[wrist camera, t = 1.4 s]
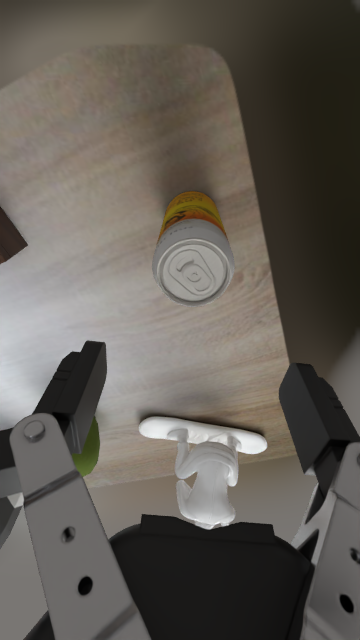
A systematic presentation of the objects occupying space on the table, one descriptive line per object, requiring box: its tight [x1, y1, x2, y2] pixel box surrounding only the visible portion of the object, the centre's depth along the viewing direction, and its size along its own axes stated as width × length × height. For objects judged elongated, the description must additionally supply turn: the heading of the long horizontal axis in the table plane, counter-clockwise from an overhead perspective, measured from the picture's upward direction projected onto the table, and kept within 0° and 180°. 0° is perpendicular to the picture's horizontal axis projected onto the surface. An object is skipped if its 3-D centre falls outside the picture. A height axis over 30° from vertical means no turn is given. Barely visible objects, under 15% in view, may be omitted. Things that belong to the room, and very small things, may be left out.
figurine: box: [139, 416, 267, 530], centre depth 49 cm, size 26×13×17 cm, turn 76°
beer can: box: [152, 191, 234, 307], centre depth 26 cm, size 6×6×15 cm
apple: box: [72, 417, 100, 477], centre depth 49 cm, size 9×8×12 cm
